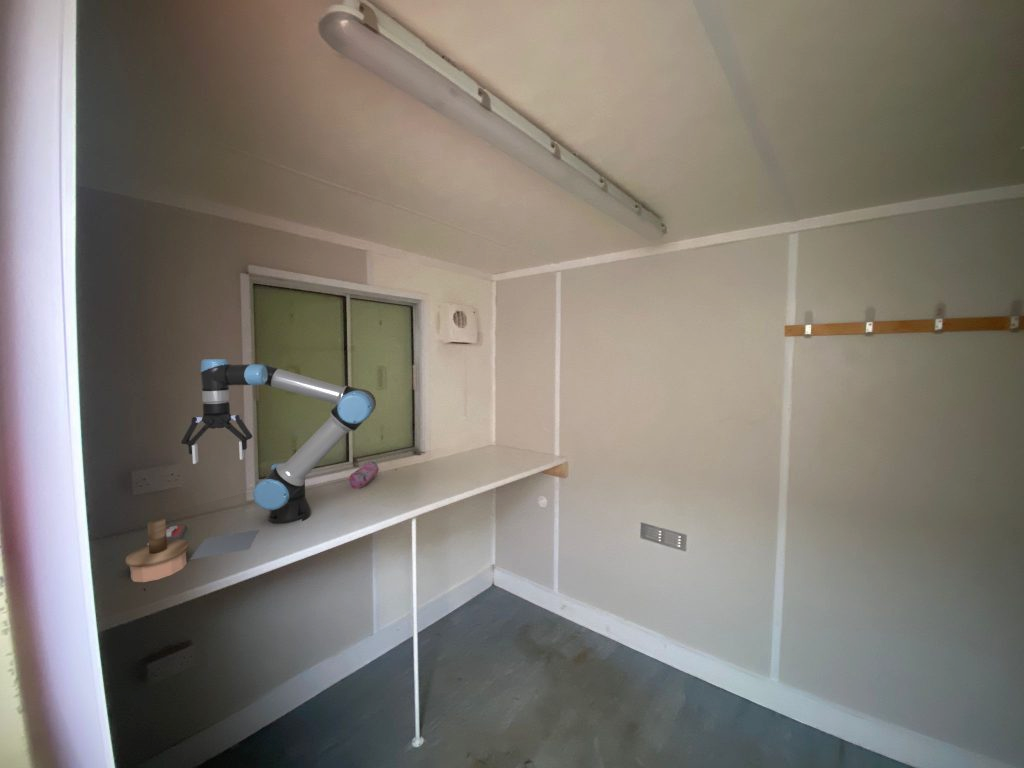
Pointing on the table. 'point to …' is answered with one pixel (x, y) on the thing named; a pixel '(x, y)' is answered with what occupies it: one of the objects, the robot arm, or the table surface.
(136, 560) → the walnut lid
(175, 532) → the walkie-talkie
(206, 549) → the slate mat
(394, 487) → the table surface
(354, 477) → the pencil case
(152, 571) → the terracotta bowl
